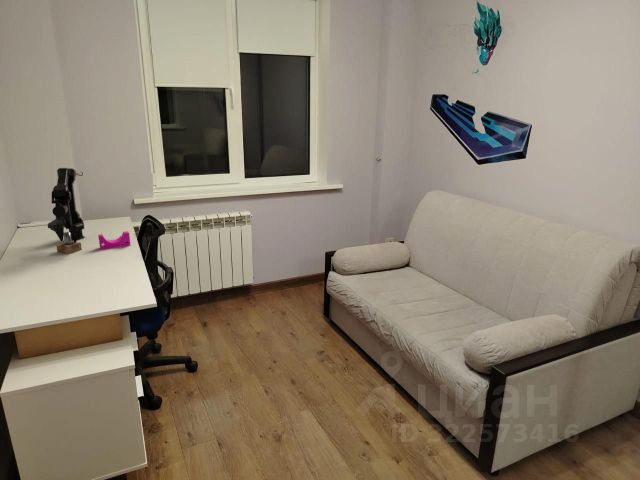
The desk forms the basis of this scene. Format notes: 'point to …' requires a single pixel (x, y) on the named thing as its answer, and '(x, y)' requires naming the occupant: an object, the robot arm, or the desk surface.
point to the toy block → (114, 241)
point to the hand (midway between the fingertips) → (68, 241)
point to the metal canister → (67, 238)
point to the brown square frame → (69, 248)
